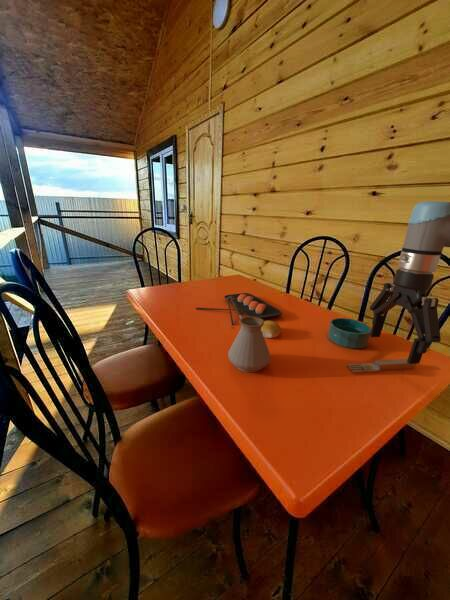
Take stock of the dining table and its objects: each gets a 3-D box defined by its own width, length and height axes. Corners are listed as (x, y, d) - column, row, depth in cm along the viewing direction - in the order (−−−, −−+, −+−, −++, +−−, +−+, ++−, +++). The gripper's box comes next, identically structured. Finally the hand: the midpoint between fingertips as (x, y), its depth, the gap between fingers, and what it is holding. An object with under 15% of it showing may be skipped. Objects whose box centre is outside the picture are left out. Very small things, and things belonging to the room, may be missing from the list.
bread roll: (282, 330, 90) (283, 319, 89) (276, 341, 83) (278, 329, 81) (259, 325, 93) (260, 315, 92) (252, 335, 86) (253, 324, 84)
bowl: (352, 331, 91) (355, 317, 89) (376, 349, 80) (380, 333, 78) (320, 332, 89) (323, 318, 88) (340, 350, 78) (343, 334, 76)
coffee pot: (277, 372, 66) (283, 319, 61) (237, 380, 63) (240, 325, 58) (244, 335, 85) (247, 293, 80) (211, 340, 81) (212, 296, 77)
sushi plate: (284, 318, 101) (285, 309, 100) (215, 330, 89) (215, 319, 87) (248, 296, 126) (249, 288, 124) (190, 303, 113) (190, 294, 112)
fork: (407, 363, 72) (409, 357, 72) (416, 370, 69) (418, 363, 69) (346, 366, 70) (347, 360, 69) (353, 373, 67) (354, 367, 66)
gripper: (366, 260, 72) (351, 328, 79) (451, 285, 49) (419, 378, 56) (390, 260, 73) (373, 327, 80) (485, 285, 50) (448, 376, 57)
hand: (392, 348), depth 68 cm, fingers open, 13 cm apart
